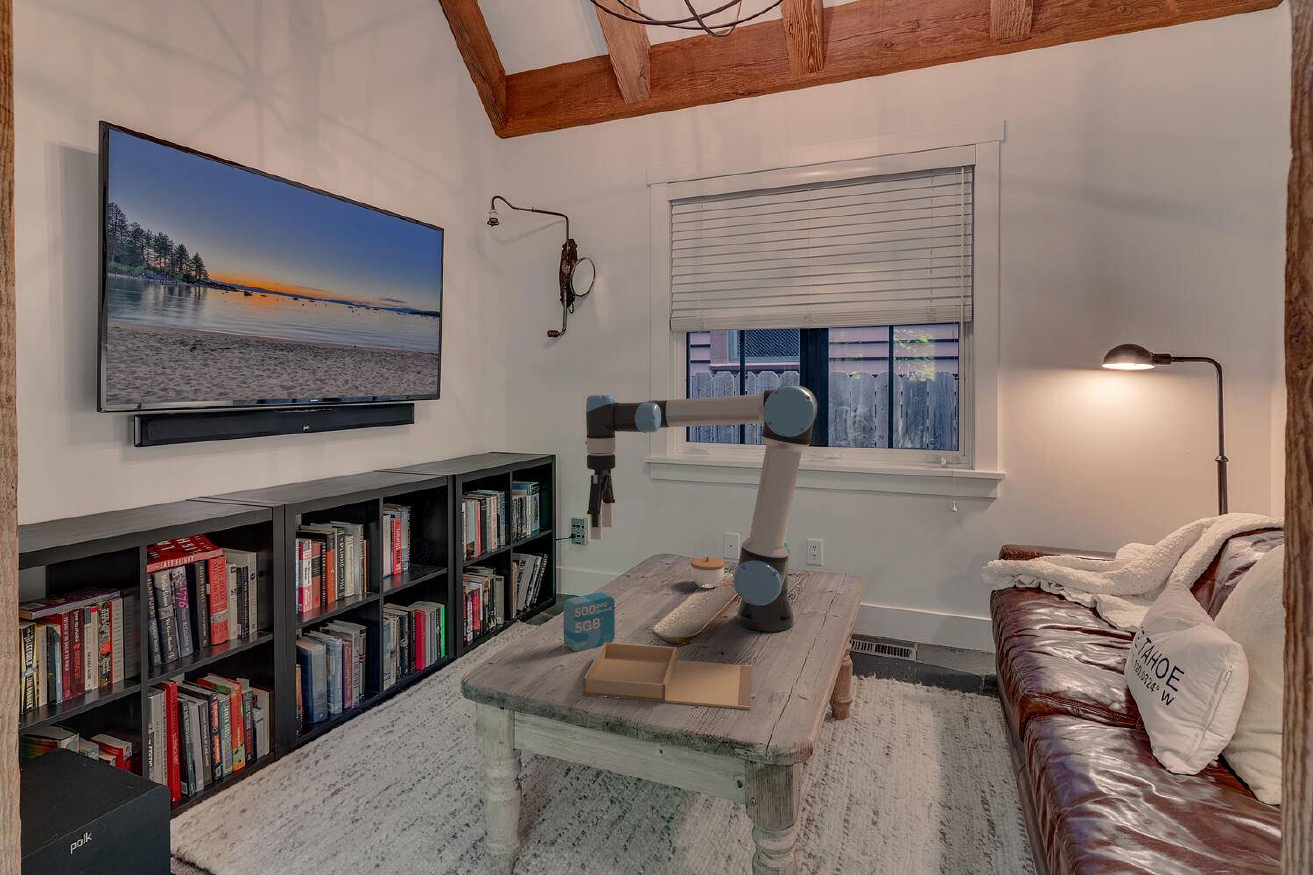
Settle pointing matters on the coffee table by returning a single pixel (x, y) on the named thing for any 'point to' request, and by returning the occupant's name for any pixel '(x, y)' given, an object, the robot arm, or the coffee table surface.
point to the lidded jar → (707, 570)
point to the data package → (589, 621)
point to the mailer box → (666, 677)
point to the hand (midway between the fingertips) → (601, 532)
